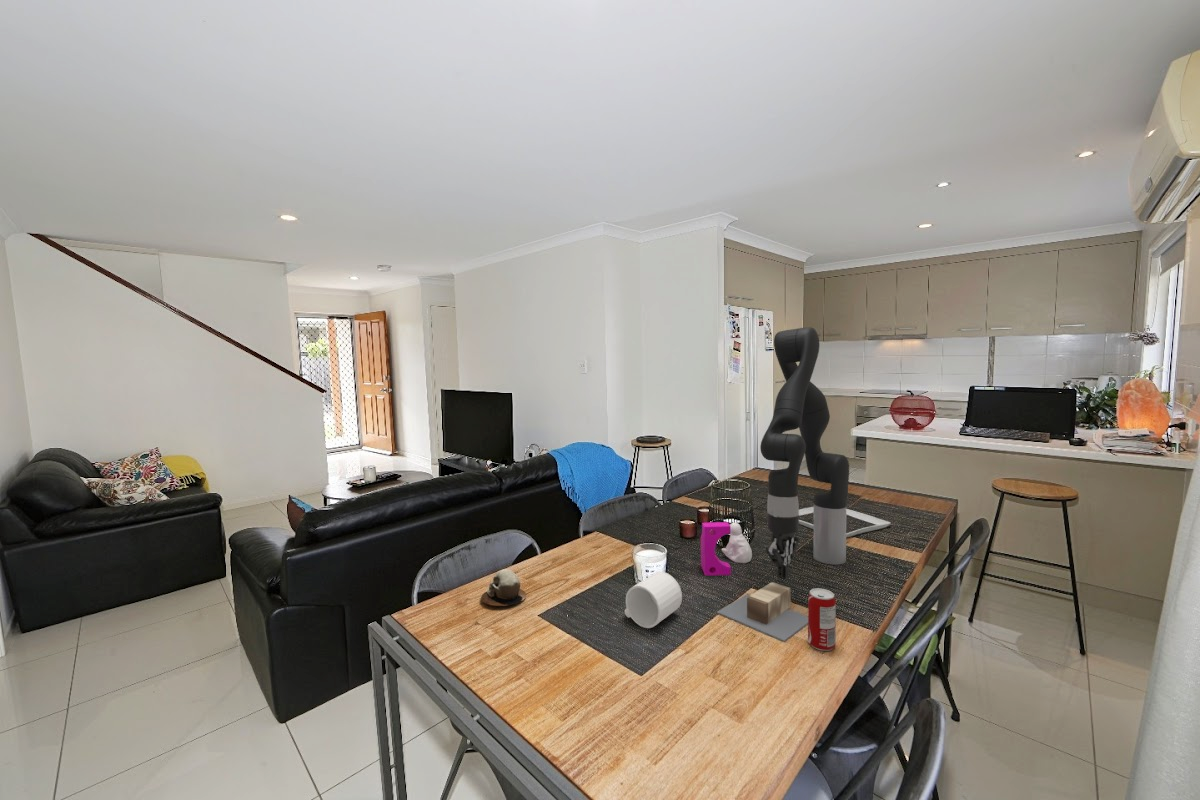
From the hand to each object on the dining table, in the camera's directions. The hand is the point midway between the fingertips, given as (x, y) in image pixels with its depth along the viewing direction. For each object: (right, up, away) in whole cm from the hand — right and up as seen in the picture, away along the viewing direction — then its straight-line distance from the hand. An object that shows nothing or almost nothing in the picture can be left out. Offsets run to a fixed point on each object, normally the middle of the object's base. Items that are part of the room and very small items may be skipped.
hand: (782, 577), depth 128 cm
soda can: (+2, -9, -18) cm, 20 cm away
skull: (-75, -11, +5) cm, 76 cm away
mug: (-31, -4, 0) cm, 31 cm away
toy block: (-17, +1, +20) cm, 26 cm away
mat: (-7, -8, -5) cm, 11 cm away
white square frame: (+41, -2, +59) cm, 71 cm away
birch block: (-1, -4, 0) cm, 4 cm away
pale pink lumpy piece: (-3, -5, +29) cm, 30 cm away
